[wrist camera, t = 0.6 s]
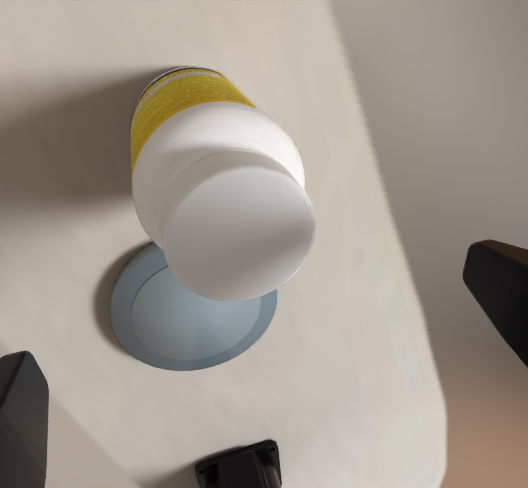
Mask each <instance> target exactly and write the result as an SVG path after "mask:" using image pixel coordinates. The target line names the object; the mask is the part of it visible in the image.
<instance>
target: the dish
mask: <svg viewBox="0 0 528 488" xmlns="http://www.w3.org/2000/svg"><path fill="white" fill-rule="evenodd" d="M276 304H277V288H276V289H275V290H273V291H271V292H269V293H267V294H265V295H262V296H259V297H257V298H253V299H249V300H243V301H218V300H212V299H208V298H205V297H203V296H200V295H198V294H196V293H194V292H192V291H191V290H189V289H188V288H187V287H185V286H184V285H183V284H182V283H181V282H180V281H179V280H178V279H177V278H176V277H175V276H174V274H173V273H172V271H171V269H170V268H169V266H168V263H167V261H166V257H165V254H164V251H163V250H162V249H161V248H160V247H159V246H157V245H156V244H155V243H154V242H153V243H152V244H150V245H148V246H146V247H145V248H144V249H142V250H141V251H139V252H138V253H137V254H136V255H135V256H134V257H132V258H131V259H130V260H129V262H128V263H127V264H126V265H125V266H124V267H123V269H122V271H121V272H120V274H119V275H118V277H117V280H116V282H115V284H114V287H113V291H112V298H111V313H110V316H111V325H112V328H113V332H114V334H115V336H116V338H117V340H118V341H119V343H120V344H121V346H122V347H123V348H124V349H125V350H126V351H127V352H128V353H129V354H131V355H132V356H133V357H135V358H136V359H138V360H140V361H141V362H143V363H146V364H148V365H151V366H153V367H157V368H161V369H166V370H175V371H191V370H199V369H204V368H209V367H212V366H215V365H219V364H221V363H224V362H226V361H229V360H231V359H232V358H234V357H236V356H238V355H240V354H241V353H243V352H244V351H246V350H247V349H248V348H249V347H251V346H252V345H253V344H254V343H255V342H256V341H257V340H258V339H259V338H260V337H261V336H262V335H263V333H264V332H265V331H266V329H267V328H268V326H269V324H270V322H271V320H272V318H273V316H274V313H275V310H276Z"/></svg>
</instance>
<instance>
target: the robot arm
mask: <svg viewBox="0 0 528 488" xmlns="http://www.w3.org/2000/svg"><path fill="white" fill-rule="evenodd" d="M463 280H464V283H465V285H466V286H467V288H468V289H469V291H470V292H471V293H472V295H473V296H474V298H475V299H476V301H477V302H478V304H479V305H480V306H481V308H482V309H483V311H484V312H485V314H486V315H487V316H488V318H489V319H490V321H491V322H492V324H493V325H494V327H495V328H496V329H497V331H498V332H499V334H500V335H501V336H502V338H503V339H504V340H505V342H506V343H507V344H508V345H509V347H510V348H511V349H512V350H513V352H514V353H515V354H516V355H517V356H518V357H519V358H520V360H521V361H522V362H523V363H524V365H525V366H526V367H527V368H528V250H527V249H524V248H520V247H516V246H513V245H509V244H506V243H502V242H498V241H495V240H483V241H479V242H475V243H473V244H471V245H470V247H469V248H468V252H467V256H466V261H465V265H464V269H463ZM48 404H49V389H48V383H47V380H46V378H45V377H44V375H43V373H42V371H41V369H40V367H39V366H38V364H37V362H36V360H35V358H34V357H33V355H32V354H31V353H30V352H29V351H20V352H16V353H12V354H8V355H5V356H3V357H1V358H0V488H44V487H45V479H46V466H47V438H48ZM195 474H196V477H197V480H198V483H199V487H200V488H281V486H282V481H281V471H280V461H279V451H278V446H277V443H276V441H270V442H266V443H263V444H260V445H257V446H253V447H250V448H247V449H244V450H241V451H237V452H234V453H231V454H228V455H224V456H221V457H218V458H215V459H212V460H208V461H205V462H202V463H199V464H197V465H196V466H195Z"/></svg>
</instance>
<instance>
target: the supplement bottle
mask: <svg viewBox="0 0 528 488" xmlns="http://www.w3.org/2000/svg"><path fill="white" fill-rule="evenodd" d="M130 133H131V181H132V194H133V200H134V205H135V209H136V213H137V215H138V218H139V221H140V222H141V224H142V226H143V228H144V230H145V231H146V233H147V234H148V236H149V237H150V238H151V239H152V240H153V242H154V243H155V244H156V245H157V246H159V247H160V248H161V249H162V250H163V251H164V254H165V257H166V261H167V263H168V266H169V268H170V269H171V271H172V273H173V274H174V276H175V277H176V278H177V279H178V280H179V281H180V282H181V283H182V284H183V285H184V286H185V287H187V288H188V289H189V290H191V291H192V292H194V293H196V294H198V295H200V296H203V297H205V298H208V299H212V300H218V301H243V300H249V299H253V298H257V297H259V296H262V295H265V294H267V293H269V292H271V291H273V290H275V289H276V288H278V287H280V286H281V285H282V284H284V283H285V282H286V281H288V280H289V279H290V278H291V277H292V276H293V275H294V274H295V273H296V272H297V271H298V270H299V268H300V267H301V266H302V265H303V263H304V262H305V260H306V258H307V257H308V255H309V253H310V250H311V248H312V245H313V241H314V236H315V229H316V223H315V214H314V210H313V206H312V204H311V202H310V199H309V197H308V195H307V194H306V192H305V191H304V184H305V178H304V170H303V165H302V161H301V158H300V155H299V153H298V150H297V148H296V146H295V145H294V143H293V142H292V140H291V138H290V137H289V136H288V134H287V133H286V132H285V131H284V129H283V128H282V127H281V126H280V125H279V124H278V123H276V122H275V121H274V120H273V119H272V118H271V117H270V116H269V115H268V114H267V113H266V112H264V110H263V109H262V108H261V107H259V106H258V105H257V104H256V103H255V102H254V101H253V100H252V99H251V98H250V97H249V96H248V95H247V94H246V93H245V92H244V91H243V90H242V89H241V88H240V87H239V86H238V85H236V84H235V83H234V82H233V81H232V80H231V79H229V78H228V77H226V76H225V75H223V74H221V73H219V72H217V71H214V70H212V69H208V68H204V67H197V66H187V67H180V68H176V69H173V70H170V71H168V72H165V73H163V74H162V75H160V76H158V77H157V78H155V79H154V80H153V81H152V82H151V83H150V84H149V85H148V86H147V87H146V88H145V89H144V91H143V92H142V93H141V95H140V97H139V99H138V101H137V103H136V105H135V108H134V111H133V115H132V119H131V128H130Z"/></svg>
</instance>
